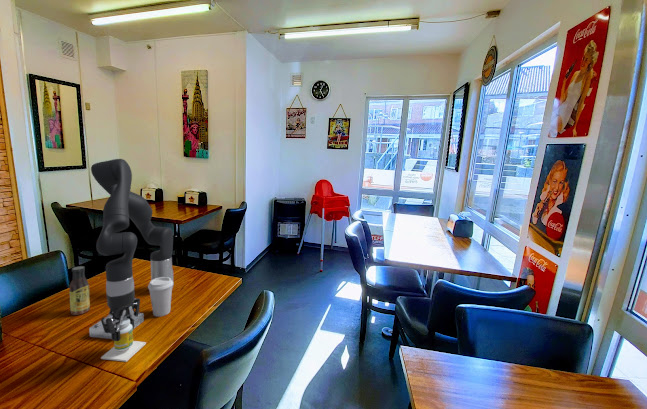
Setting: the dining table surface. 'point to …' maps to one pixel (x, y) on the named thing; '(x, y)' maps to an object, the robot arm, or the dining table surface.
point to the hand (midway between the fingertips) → (123, 334)
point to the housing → (99, 331)
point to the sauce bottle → (79, 292)
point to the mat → (123, 352)
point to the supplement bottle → (124, 336)
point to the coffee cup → (161, 295)
